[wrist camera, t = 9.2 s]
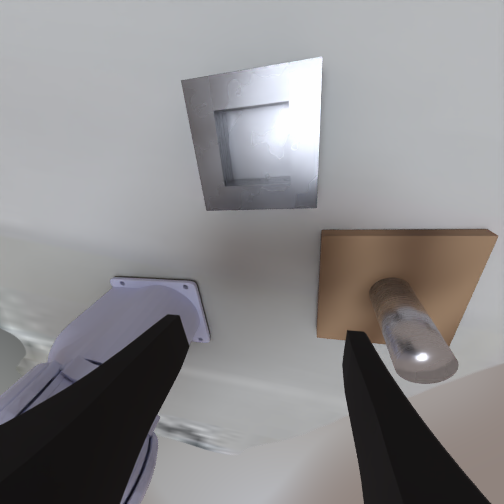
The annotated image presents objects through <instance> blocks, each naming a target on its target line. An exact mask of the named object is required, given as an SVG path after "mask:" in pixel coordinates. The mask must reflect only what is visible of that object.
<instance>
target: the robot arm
mask: <svg viewBox="0 0 504 504" xmlns="http://www.w3.org/2000/svg"><path fill="white" fill-rule="evenodd" d="M110 283H111V285H112V287H113V288H111V289H110V290H109V291H108V292H107V293H105V294H104V295H103V296H102V297H101V298H99V299H98V300H97V301H96V302H95V303H94V304H92V305H91V306H90V307H89V308H88V309H87V310H85V311H84V312H83V313H82V314H81V315H79V316H78V317H77V318H76V319H75V320H74V321H72V322H71V323H70V324H69V325H68V326H67V327H66V328H65V329H64V330H63V331H62V332H61V333H60V334H59V335H58V337H57V338H56V340H55V342H54V344H53V345H52V348H51V350H50V353H49V356H48V362H47V363H40V364H38V365H36V366H35V367H34V368H32V369H31V370H30V371H29V372H27V373H26V374H25V375H24V376H23V377H21V378H20V379H19V380H18V381H17V382H16V383H14V384H13V385H12V386H11V387H10V388H9V389H7V390H6V391H5V392H4V393H3V394H2V395H1V396H0V504H140V503H141V501H142V499H143V497H144V495H145V493H146V491H147V489H148V486H149V484H150V481H151V478H152V475H153V472H154V469H155V465H156V458H157V451H158V439H157V436H156V434H155V433H154V432H153V431H154V429H155V427H156V425H157V423H158V421H159V419H160V416H159V415H157V414H158V412H159V410H160V408H161V406H162V404H163V402H164V401H165V399H166V397H167V395H168V393H169V391H170V389H171V387H172V385H173V383H174V381H175V379H176V377H177V375H178V373H179V371H180V369H181V367H182V365H183V362H184V360H185V357H186V354H187V351H188V349H189V345H190V343H191V341H194V342H203V343H208V342H209V341H210V334H209V330H208V326H207V323H206V319H205V315H204V311H203V307H202V303H201V299H200V295H199V291H198V287H197V284H196V283H195V282H193V281H184V280H164V279H144V278H124V277H113V278H112V279H111V280H110ZM186 285H187V286H188V287H187V286H186ZM342 367H343V378H344V388H345V396H346V401H347V406H348V411H349V417H350V422H351V427H352V431H353V437H354V442H355V447H356V453H357V458H358V463H359V469H360V475H361V482H362V491H363V499H364V504H491V503H490V502H489V501H488V500H487V499H486V497H485V496H484V495H483V494H482V493H481V492H480V490H479V489H478V488H477V487H476V486H475V484H474V483H473V482H472V481H471V480H470V479H469V477H468V476H467V475H466V474H465V473H464V471H462V469H461V468H460V467H459V466H458V464H457V463H456V462H455V461H454V459H453V458H452V457H451V456H450V454H449V453H448V452H447V451H446V450H445V448H444V447H443V446H442V445H441V443H440V442H439V441H438V439H437V438H436V437H435V436H434V434H433V433H432V432H431V430H430V429H429V428H428V427H427V425H426V424H425V423H424V421H423V420H422V418H421V417H420V416H419V414H418V413H417V412H416V410H415V409H414V408H413V406H412V405H411V403H410V402H409V401H408V399H407V398H406V396H405V395H404V393H403V392H402V390H401V389H400V388H399V386H398V385H397V383H396V382H395V380H394V379H393V377H392V376H391V374H390V373H389V371H388V369H387V368H386V366H385V365H384V363H383V361H382V360H381V358H380V357H379V355H378V353H377V352H376V350H375V348H374V346H373V345H372V343H371V341H370V339H369V337H368V336H367V334H366V333H365V332H363V331H352V330H347V334H346V341H345V348H344V356H343V363H342Z"/></svg>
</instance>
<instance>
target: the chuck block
mask: <svg viewBox="0 0 504 504" xmlns="http://www.w3.org/2000/svg"><path fill="white" fill-rule="evenodd" d="M321 81H322V57H318V58H312V59H306V60H300V61H294V62H288V63H282V64H276V65H270V66H264V67H258V68H252V69H246V70H240V71H235V72H229V73H223V74H217V75H211V76H205V77H199V78H193V79H187V80H181V83H182V88H183V93H184V98H185V103H186V108H187V113H188V118H189V123H190V129H191V134H192V139H193V144H194V149H195V154H196V159H197V164H198V169H199V175H200V180H201V185H202V190H203V195H204V200H205V205H206V210H207V211H214V210H254V209H294V208H317V188H318V161H319V134H320V108H321Z"/></svg>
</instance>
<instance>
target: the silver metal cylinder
mask: <svg viewBox="0 0 504 504" xmlns="http://www.w3.org/2000/svg"><path fill="white" fill-rule="evenodd" d="M369 297H370V300H371V303H372V306H373V308H374V311H375V314H376V317H377V320H378V323H379V325H380V328H381V331H382V334H383V337H384V340H385V342H386V345H387V348H388V351H389V354H390V357H391V359H392V362H393V365H394V368H395V370H396V372H397V374H398V375H399V376H400V377H402V378H403V379H405V380H408V381H410V382H414V383H421V384H430V383H437V382H441V381H444V380H446V379H448V378H450V377H451V376H453V375H454V374H455V373H456V371H457V369H458V361H457V359H456V357H455V356H454V354H453V353H452V351H451V350H450V348H449V346H448V345H447V343H446V342H445V340H444V338H443V337H442V335H441V334H440V332H439V330H438V329H437V327H436V326H435V324H434V322H433V321H432V319H431V318H430V316H429V315H428V313H427V311H426V310H425V308H424V307H423V305H422V303H421V302H420V300H419V299H418V297H417V295H416V294H415V292H414V291H413V289H412V288H411V286H410V285H409V283H408V282H406V281H405V280H403V279H400V278H393V277H391V278H385V279H382V280H379V281H378V282H376V283H375V284H374V285H373V286H372V287H371V289H370V291H369Z"/></svg>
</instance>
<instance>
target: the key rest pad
mask: <svg viewBox="0 0 504 504" xmlns="http://www.w3.org/2000/svg"><path fill="white" fill-rule="evenodd" d="M497 238H498V235H496V234H494V233H493V232H491V231H489V230H488V229H443V230H322V233H321V253H320V273H319V292H318V312H317V338H327V339H337V340H346V334H347V330H352V331H363V332H365V333H366V334H367V336H368V337H369V339H370V341H371V343H378V344H386V342H385V340H384V337H383V334H382V331H381V328H380V325H379V323H378V320H377V317H376V314H375V311H374V308H373V306H372V303H371V300H370V297H369V291H370V289H371V287H372V286H373V285H374V284H375V283H376V282H378V281H379V280H382V279H385V278H391V277H393V278H400V279H403V280H405V281H406V282H408V283H409V285H410V286H411V288H412V289H413V291H414V292H415V294H416V295H417V297H418V299H419V300H420V302H421V303H422V305H423V307H424V308H425V310H426V311H427V313H428V315H429V316H430V318H431V319H432V321H433V322H434V324H435V326H436V327H437V329H438V330H439V332H440V334H441V335H442V337H443V338H444V340H445V342H446V343H447V345H448V346H450V343H451V341H452V339H453V337H454V335H455V332H456V330H457V328H458V326H459V323H460V321H461V319H462V317H463V314H464V312H465V310H466V308H467V305H468V303H469V301H470V299H471V297H472V294H473V292H474V290H475V288H476V285H477V283H478V281H479V279H480V276H481V274H482V272H483V270H484V267H485V265H486V263H487V261H488V259H489V256H490V254H491V252H492V250H493V247H494V245H495V243H496V241H497Z"/></svg>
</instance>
